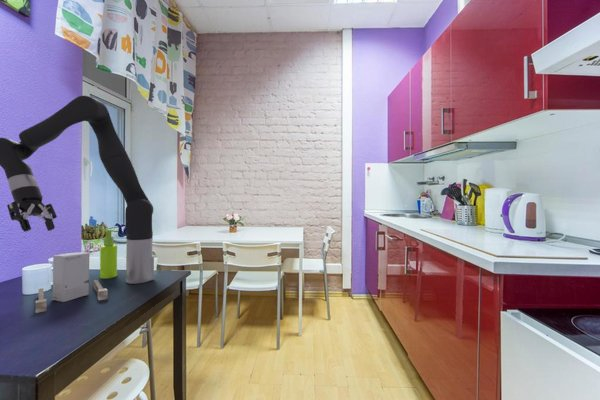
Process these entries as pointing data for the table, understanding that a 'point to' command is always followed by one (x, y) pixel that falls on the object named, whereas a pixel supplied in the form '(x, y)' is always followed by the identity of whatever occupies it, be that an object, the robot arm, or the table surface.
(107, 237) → the soap dispenser
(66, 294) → the skincare box
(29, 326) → the table surface
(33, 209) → the robot arm
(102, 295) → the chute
